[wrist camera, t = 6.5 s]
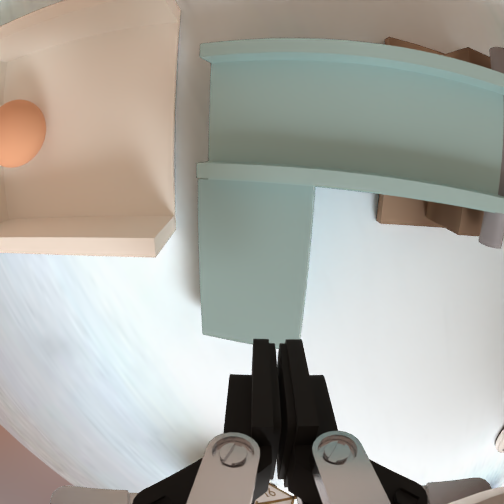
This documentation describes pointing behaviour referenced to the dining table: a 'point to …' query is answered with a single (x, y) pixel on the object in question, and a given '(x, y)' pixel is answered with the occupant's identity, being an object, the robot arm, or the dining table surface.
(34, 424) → the dining table surface
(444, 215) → the fulcrum
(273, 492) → the game die
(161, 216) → the tray
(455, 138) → the lever
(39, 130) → the ball
